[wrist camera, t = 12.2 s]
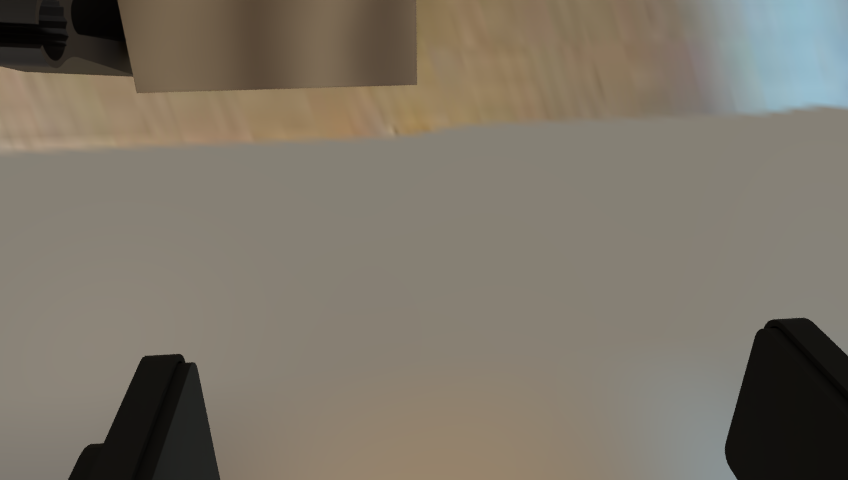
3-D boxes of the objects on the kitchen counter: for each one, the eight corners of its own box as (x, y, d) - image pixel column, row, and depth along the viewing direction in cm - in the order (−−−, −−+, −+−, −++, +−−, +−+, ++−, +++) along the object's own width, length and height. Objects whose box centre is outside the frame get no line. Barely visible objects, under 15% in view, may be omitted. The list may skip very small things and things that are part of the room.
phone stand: (-9, -116, 33) (-180, -114, 22) (120, -106, 34) (14, -99, 23) (27, 69, 37) (-103, 145, 26) (141, 75, 38) (59, 151, 27)
